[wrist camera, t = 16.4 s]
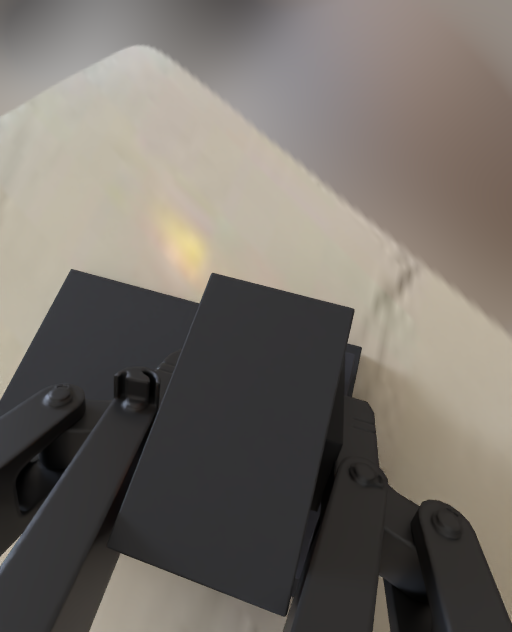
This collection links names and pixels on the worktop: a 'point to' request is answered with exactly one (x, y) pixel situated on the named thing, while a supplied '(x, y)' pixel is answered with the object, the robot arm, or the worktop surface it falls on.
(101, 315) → the base pad
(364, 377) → the worktop surface
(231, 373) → the black orange-striped block
